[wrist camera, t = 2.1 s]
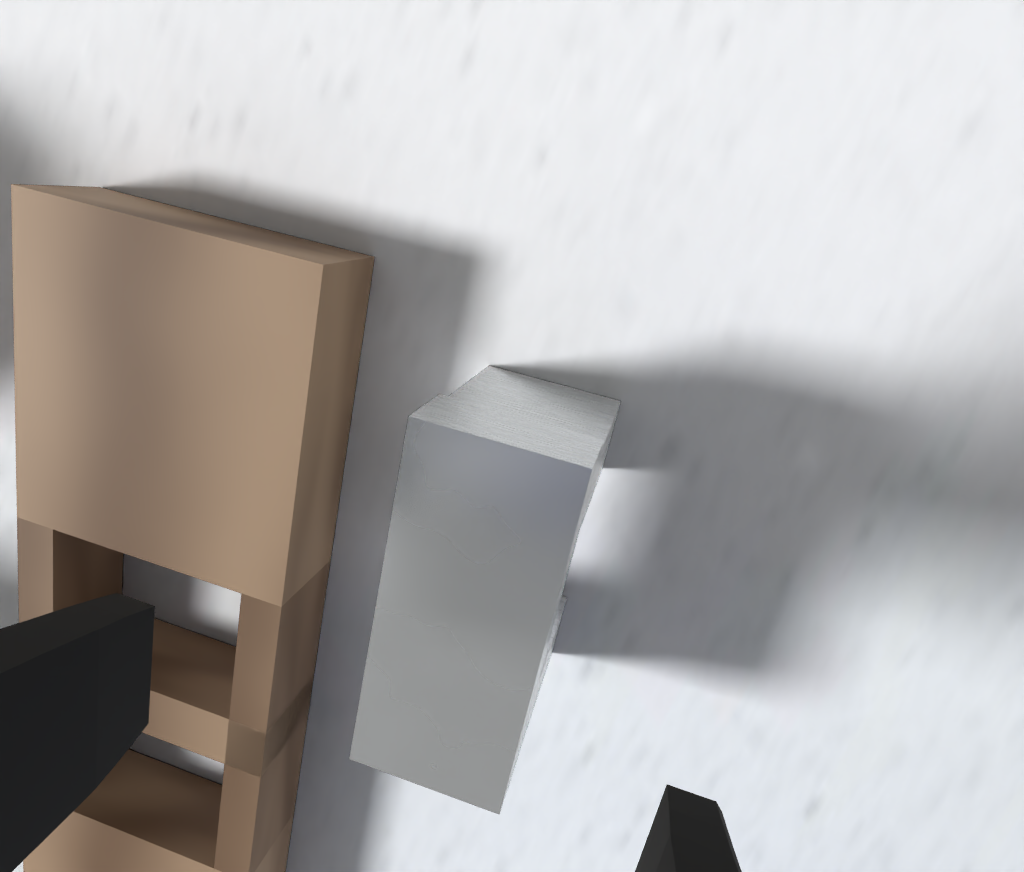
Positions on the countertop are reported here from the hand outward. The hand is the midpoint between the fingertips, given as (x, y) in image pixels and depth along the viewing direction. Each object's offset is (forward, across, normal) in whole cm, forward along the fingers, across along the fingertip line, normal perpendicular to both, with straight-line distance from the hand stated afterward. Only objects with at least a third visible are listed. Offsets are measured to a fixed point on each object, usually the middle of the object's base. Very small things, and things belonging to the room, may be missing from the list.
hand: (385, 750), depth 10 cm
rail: (+8, +8, +7) cm, 13 cm away
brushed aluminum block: (+8, 0, 0) cm, 8 cm away
